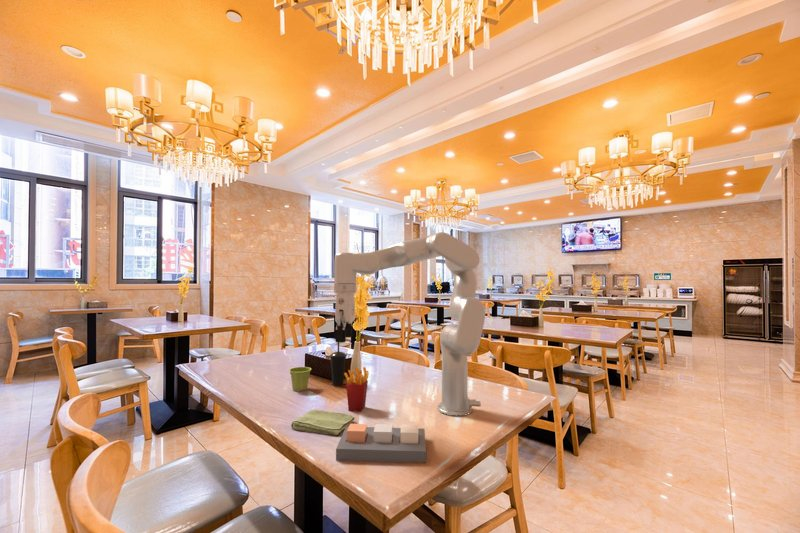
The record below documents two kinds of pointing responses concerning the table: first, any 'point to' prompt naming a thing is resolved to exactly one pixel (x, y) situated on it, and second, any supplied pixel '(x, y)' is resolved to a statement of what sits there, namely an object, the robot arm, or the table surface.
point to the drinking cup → (338, 367)
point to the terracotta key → (357, 433)
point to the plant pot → (300, 378)
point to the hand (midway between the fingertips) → (344, 339)
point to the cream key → (409, 434)
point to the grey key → (383, 433)
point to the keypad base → (382, 448)
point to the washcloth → (322, 422)
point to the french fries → (356, 389)
